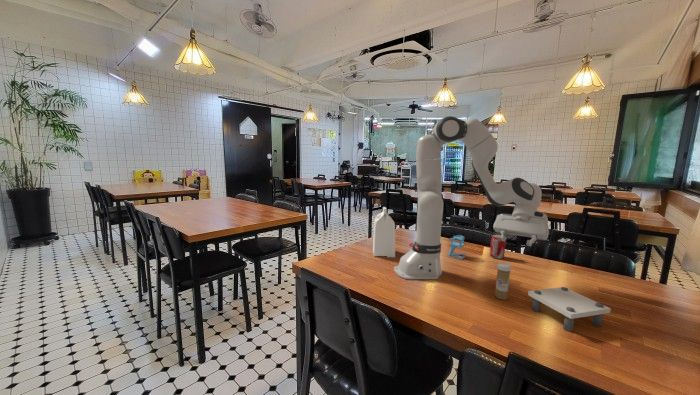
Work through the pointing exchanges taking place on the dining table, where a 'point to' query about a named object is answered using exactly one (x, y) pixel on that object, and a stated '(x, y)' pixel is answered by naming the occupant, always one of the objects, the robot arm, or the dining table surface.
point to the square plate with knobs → (569, 305)
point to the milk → (384, 235)
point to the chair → (456, 244)
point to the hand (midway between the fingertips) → (515, 242)
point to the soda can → (497, 247)
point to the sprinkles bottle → (502, 280)
